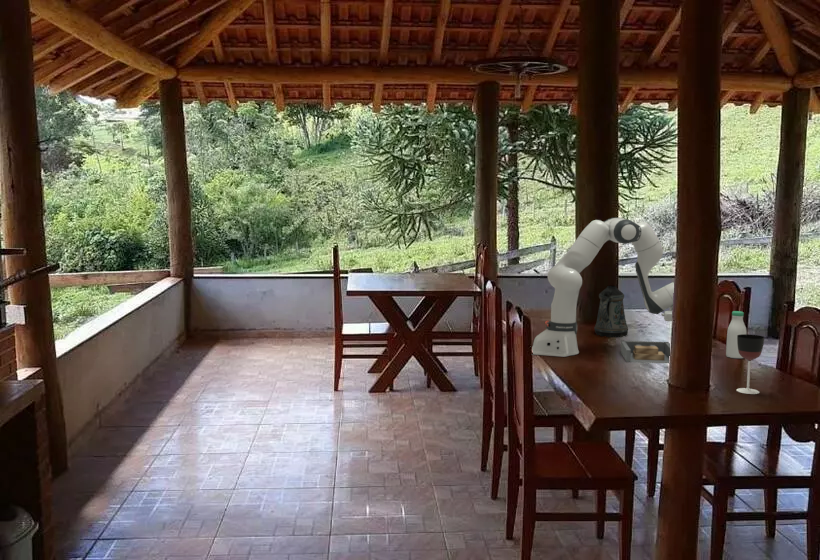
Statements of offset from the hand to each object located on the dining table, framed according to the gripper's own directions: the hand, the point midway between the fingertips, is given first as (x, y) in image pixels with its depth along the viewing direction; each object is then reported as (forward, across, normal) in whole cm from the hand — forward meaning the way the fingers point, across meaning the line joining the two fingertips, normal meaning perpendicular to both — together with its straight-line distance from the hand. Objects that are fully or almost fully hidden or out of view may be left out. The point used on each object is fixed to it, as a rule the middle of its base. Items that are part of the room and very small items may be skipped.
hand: (692, 319), depth 295 cm
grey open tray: (+4, -18, +18) cm, 26 cm away
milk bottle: (-10, +21, +18) cm, 29 cm away
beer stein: (-52, -27, +18) cm, 61 cm away
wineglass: (+46, +10, +18) cm, 50 cm away
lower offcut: (+5, -18, +16) cm, 25 cm away
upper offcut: (+5, -19, +14) cm, 24 cm away
